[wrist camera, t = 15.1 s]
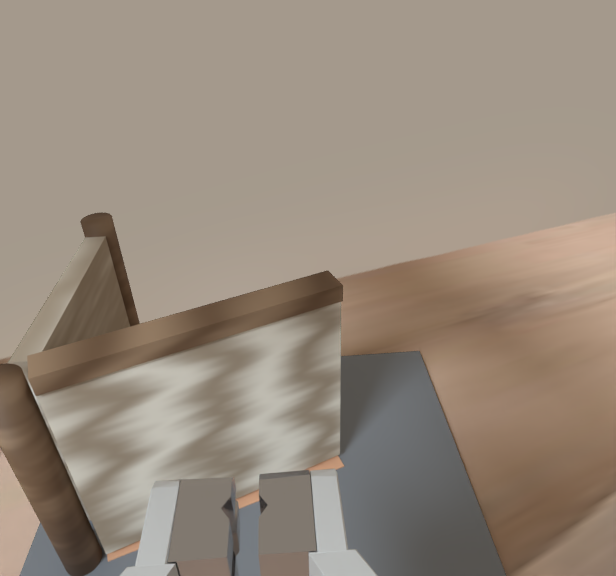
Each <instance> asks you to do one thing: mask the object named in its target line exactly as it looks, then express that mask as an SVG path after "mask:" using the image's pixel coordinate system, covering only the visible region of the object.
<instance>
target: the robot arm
mask: <svg viewBox="0 0 616 576" xmlns="http://www.w3.org/2000/svg"><path fill="white" fill-rule="evenodd" d="M235 498H236V485H235V479H234V477H220V478H200V479H178V480H163V481H155V483H154V485H153V487H152V489H151V492H150V497H149V502H148V507H147V511H146V516H145V521H144V526H143V530H142V535H141V540H140V545H139V549H138V554H137V559H136V564H135V566H131V567H126V569H125V570H124V571H123V572H122V573H121V575H120V576H239V574H238V567H237V560H236V556H237V554H238V553H239V551H240V515H239V505H238V501H237V500H235ZM259 502H260V512H261V515H260V516H259V531H258V555H259V564H260V574H261V576H378V575H377V574H376V573H375V572H374V570H373V569H372V568H371V567H370V566H369V564H368V563H367V562H366V561H365V559H364V558H363V557H362V556H361V555H360V553H359V552H358V551H357V550H356V549H348V545H347V538H346V530H345V523H344V516H343V509H342V502H341V495H340V488H339V481H338V474H337V472H336V470H335V468H334V469H323V470H312V471H309V470H301V471H289V472H278V473H266V474H260V475H259Z"/></svg>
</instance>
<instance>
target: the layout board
mask: <svg viewBox="0 0 616 576" xmlns="http://www.w3.org/2000/svg"><path fill="white" fill-rule="evenodd" d="M334 468H335V470H336V472H337V474H338V481H339V488H340V495H341V502H342V509H343V516H344V523H345V530H346V538H347V545H348V549H356V550H357V551H358V552H359V553H360V555H361V556H362V557H363V558H364V559H365V561H366V562H367V563H368V564H369V566H370V567H371V568H372V569H373V570H374V572H375V573H376V574H377V575H378V576H506V574H505V571H504V568H503V566H502V563H501V561H500V558H499V555H498V553H497V550H496V548H495V545H494V543H493V540H492V537H491V535H490V532H489V530H488V527H487V524H486V522H485V519H484V517H483V514H482V512H481V509H480V506H479V504H478V501H477V499H476V496H475V493H474V491H473V488H472V486H471V483H470V481H469V478H468V475H467V473H466V470H465V468H464V465H463V462H462V460H461V457H460V455H459V452H458V450H457V447H456V444H455V442H454V439H453V437H452V434H451V431H450V429H449V426H448V424H447V421H446V419H445V416H444V413H443V411H442V408H441V406H440V403H439V400H438V398H437V395H436V393H435V390H434V387H433V385H432V382H431V380H430V377H429V375H428V372H427V369H426V367H425V364H424V362H423V359H422V356H421V354H420V351H411V352H396V353H382V354H367V355H353V356H341V382H340V455H337V456H335V457H333V458H330V459H328V460H326V461H323V462H321V463H319V464H316V465H314V466H312V467H309V468H307V469H305V470H309V471H312V470H323V469H334ZM235 500H237V501H238V505H239V515H240V551H239V553H238V554H237V556H236V560H237V567H238V574H239V576H261V574H260V564H259V555H258V531H259V516H260V515H261V512H260V502H259V489H258V490H256V491H253V492H251V493H249V494H246V495H244V496H242V497H240V498H237V499H235ZM89 522H90V524H91V526H92V529H93V531H94V533H95V535H96V538H97V540H98V542H99V544H100V547H101V549H102V558H101V561H100V563H99V565H98V566H97V567H96V568H95V569H94V570H93V571H92V572H90V573H89V574H87V575H84V576H120V575H121V573H122V572H123V571H124V570H125V569H126V567H131V566H135V564H136V559H137V554H138V549H139V545H140V540H139V541H137V542H135V543H132V544H130V545H128V546H125V547H123V548H121V549H118V550H116V551H114V552H111V553H109V554H107V555H106V553H105V551H104V548H103V546H102V544H101V542H100V539H99V537H98V535H97V533H96V530H95V528H94V526H93V523H92V521H91V520H89ZM20 576H71V575H69V574H68V573H67V571H66V569H65V568H64V566H63V564H62V562H61V560H60V558H59V556H58V554H57V553H56V551H55V549H54V547H53V545H52V543H51V541H50V539H49V537H48V536H47V534H46V532H45V530H44V528H43V526H42V524H41V522H40V525H39V527H38V530H37V532H36V535H35V537H34V540H33V543H32V545H31V548H30V550H29V553H28V555H27V558H26V561H25V563H24V566H23V568H22V571H21V573H20Z"/></svg>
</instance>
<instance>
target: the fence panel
mask: <svg viewBox="0 0 616 576" xmlns="http://www.w3.org/2000/svg"><path fill="white" fill-rule="evenodd" d="M341 301H343V285H342V284H341V283H340V282H339V281H338V280H337V279H336V278H335V277H334V276H333V275H332V274H331V273H330V272H329V271H324V272H321V273H318V274H314V275H311V276H307V277H304V278H300V279H296V280H293V281H290V282H286V283H282V284H279V285H275V286H272V287H268V288H265V289H261V290H257V291H254V292H250V293H247V294H243V295H240V296H236V297H233V298H229V299H226V300H222V301H219V302H215V303H212V304H208V305H205V306H201V307H198V308H194V309H191V310H187V311H184V312H180V313H176V314H173V315H169V316H166V317H162V318H159V319H155V320H152V321H148V322H145V323H141V324H138V325H134V326H131V327H127V328H124V329H120V330H116V331H113V332H109V333H106V334H102V335H99V336H95V337H92V338H88V339H85V340H81V341H78V342H74V343H71V344H67V345H64V346H60V347H57V348H53V349H49V350H46V351H42V352H39V353H35V354H32V355H28V356H27V363H28V380H29V382H30V384H31V386H32V389H33V391H34V393H35V395H36V396H37V398H38V400H39V402H40V405H41V407H42V409H43V412H44V414H45V416H46V418H47V421H48V423H49V425H50V428H51V430H52V432H53V434H54V437H55V439H56V441H57V444H58V446H59V448H60V450H61V453H62V455H63V457H64V460H65V462H66V464H67V466H68V469H69V471H70V473H71V475H72V478H73V480H74V482H75V485H76V487H77V489H78V491H79V494H80V496H81V498H82V501H83V503H84V505H85V507H86V510H87V512H88V514H89V517H90V519H91V521H92V523H93V526H94V528H95V530H96V533H97V535H98V537H99V539H100V542H101V544H102V546H103V548H104V551H105V553H106V555H107V554H109V553H111V552H114V551H116V550H118V549H121V548H123V547H125V546H128V545H130V544H132V543H135V542H137V541H139V540H141V535H142V530H143V526H144V521H145V516H146V511H147V507H148V502H149V497H150V492H151V489H152V487H153V485H154V483H155V481H163V480H178V479H200V478H220V477H234V479H235V485H236V498H235V499H237V498H240V497H242V496H244V495H246V494H249V493H251V492H253V491H256V490H258V489H259V475H260V474H266V473H278V472H289V471H301V470H305V469H307V468H309V467H312V466H314V465H316V464H319V463H321V462H323V461H326V460H328V459H330V458H333V457H335V456H337V455H340V382H341Z"/></svg>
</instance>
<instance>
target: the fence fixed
mask: <svg viewBox="0 0 616 576" xmlns="http://www.w3.org/2000/svg"><path fill="white" fill-rule="evenodd" d="M81 225H82V228H83V232H84V235H85V239H84V240H83V242H82V244H81V245H80V247H79V248H78V250H77V252H76V253H75V255H74V257H73V258H72V260H71V261H70V263H69V265H68V266H67V268H66V270H65V271H64V273H63V274H62V276H61V278H60V279H59V281H58V282H57V284H56V286H55V287H54V289H53V290H52V292H51V294H50V296H49V297H48V299H47V300H46V302H45V303H44V305H43V307H42V308H41V310H40V311H39V313H38V315H37V317H36V318H35V320H34V321H33V323H32V324H31V326H30V328H29V329H28V331H27V332H26V334H25V336H24V337H23V339H22V341H21V342H20V344H19V345H18V347H17V349H16V350H15V352H14V353H13V355H12V357H11V358H10V360H9V362H8V364H1V365H0V447H1V449H2V451H3V453H4V455H5V457H6V458H7V460H8V462H9V464H10V466H11V468H12V470H13V472H14V473H15V475H16V477H17V479H18V481H19V483H20V485H21V487H22V489H23V490H24V492H25V494H26V496H27V498H28V500H29V502H30V504H31V505H32V507H33V509H34V511H35V513H36V515H37V517H38V519H39V521H40V522H41V524H42V526H43V528H44V530H45V532H46V534H47V536H48V537H49V539H50V541H51V543H52V545H53V547H54V549H55V551H56V553H57V554H58V556H59V558H60V560H61V562H62V564H63V566H64V568H65V569H66V571H67V573H68V574H69V575H71V576H84V575H87V574H89V573H90V572H92V571H93V570H94V569H95V568H96V567H97V566H98V565H99V563H100V561H101V558H102V549H101V547H100V544H99V542H98V540H97V538H96V535H95V533H94V531H93V529H92V526H91V524H90V522H89V520H91V519H90V517H89V514H88V512H87V510H86V507H85V505H84V503H83V501H82V498H81V496H80V494H79V491H78V489H77V487H76V485H75V482H74V480H73V478H72V475H71V473H70V471H69V469H68V466H67V464H66V462H65V460H64V457H63V455H62V453H61V450H60V448H59V446H58V444H57V441H56V439H55V437H54V434H53V432H52V430H51V428H50V425H49V423H48V421H47V418H46V416H45V414H44V412H43V409H42V407H41V405H40V402H39V400H38V398H37V396H36V395H35V393H34V391H33V389H32V386H31V384H30V382H29V380H28V363H27V356H28V355H32V354H35V353H39V352H42V351H46V350H49V349H53V348H57V347H60V346H64V345H67V344H71V343H74V342H78V341H81V340H85V339H88V338H92V337H95V336H99V335H102V334H106V333H109V332H113V331H116V330H120V329H124V328H127V327H131V326H134V325H138V324H140V323H139V320H138V316H137V312H136V308H135V304H134V300H133V297H132V292H131V289H130V285H129V281H128V278H127V273H126V269H125V266H124V262H123V258H122V254H121V251H120V246H119V242H118V239H117V235H116V231H115V227H114V223H113V219H112V216H111V215H110V214H108V213H95V214H91V215H88V216H86V217H84V218H83V219H82V220H81Z"/></svg>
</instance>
